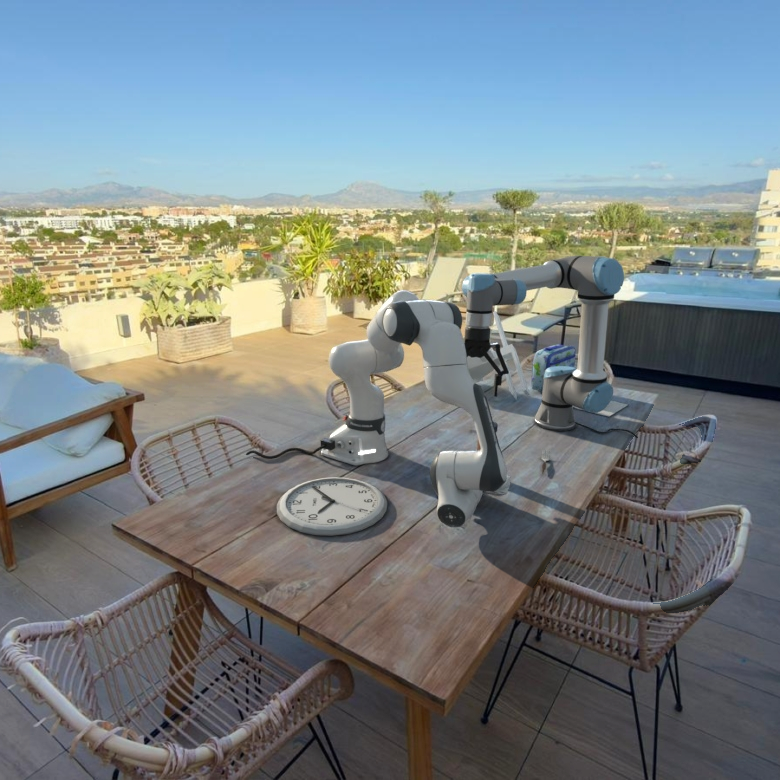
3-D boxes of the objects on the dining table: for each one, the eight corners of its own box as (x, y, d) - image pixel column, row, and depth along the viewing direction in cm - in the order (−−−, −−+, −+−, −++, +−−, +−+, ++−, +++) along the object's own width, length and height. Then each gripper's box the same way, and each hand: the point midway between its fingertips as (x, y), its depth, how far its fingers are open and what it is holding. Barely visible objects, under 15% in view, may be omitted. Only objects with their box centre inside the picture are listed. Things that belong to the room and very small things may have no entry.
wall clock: (392, 527, 129) (268, 531, 127) (391, 533, 130) (269, 537, 127) (383, 473, 158) (282, 475, 155) (383, 478, 158) (282, 480, 156)
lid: (494, 435, 153) (494, 428, 152) (474, 431, 155) (474, 425, 155) (499, 428, 158) (499, 422, 157) (479, 425, 161) (480, 418, 160)
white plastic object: (461, 429, 252) (437, 405, 227) (444, 352, 274) (420, 323, 250) (535, 404, 240) (518, 377, 215) (510, 326, 262) (492, 293, 237)
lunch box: (547, 397, 237) (552, 352, 231) (526, 391, 245) (531, 348, 238) (574, 386, 255) (580, 344, 249) (554, 381, 262) (559, 340, 256)
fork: (538, 474, 162) (538, 468, 162) (542, 454, 177) (542, 449, 176) (546, 475, 162) (547, 470, 161) (550, 455, 176) (550, 450, 175)
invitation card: (608, 416, 214) (573, 407, 224) (608, 416, 214) (573, 408, 224) (628, 404, 229) (594, 396, 238) (628, 405, 229) (594, 397, 238)
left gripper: (507, 484, 135) (515, 463, 147) (431, 470, 142) (445, 451, 154) (504, 506, 137) (513, 483, 149) (430, 491, 144) (444, 470, 156)
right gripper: (517, 325, 159) (511, 392, 165) (435, 322, 160) (432, 389, 166) (522, 330, 151) (515, 399, 158) (436, 327, 153) (432, 396, 159)
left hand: (478, 467), depth 152 cm, fingers open, 8 cm apart
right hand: (472, 394), depth 162 cm, fingers open, 13 cm apart
